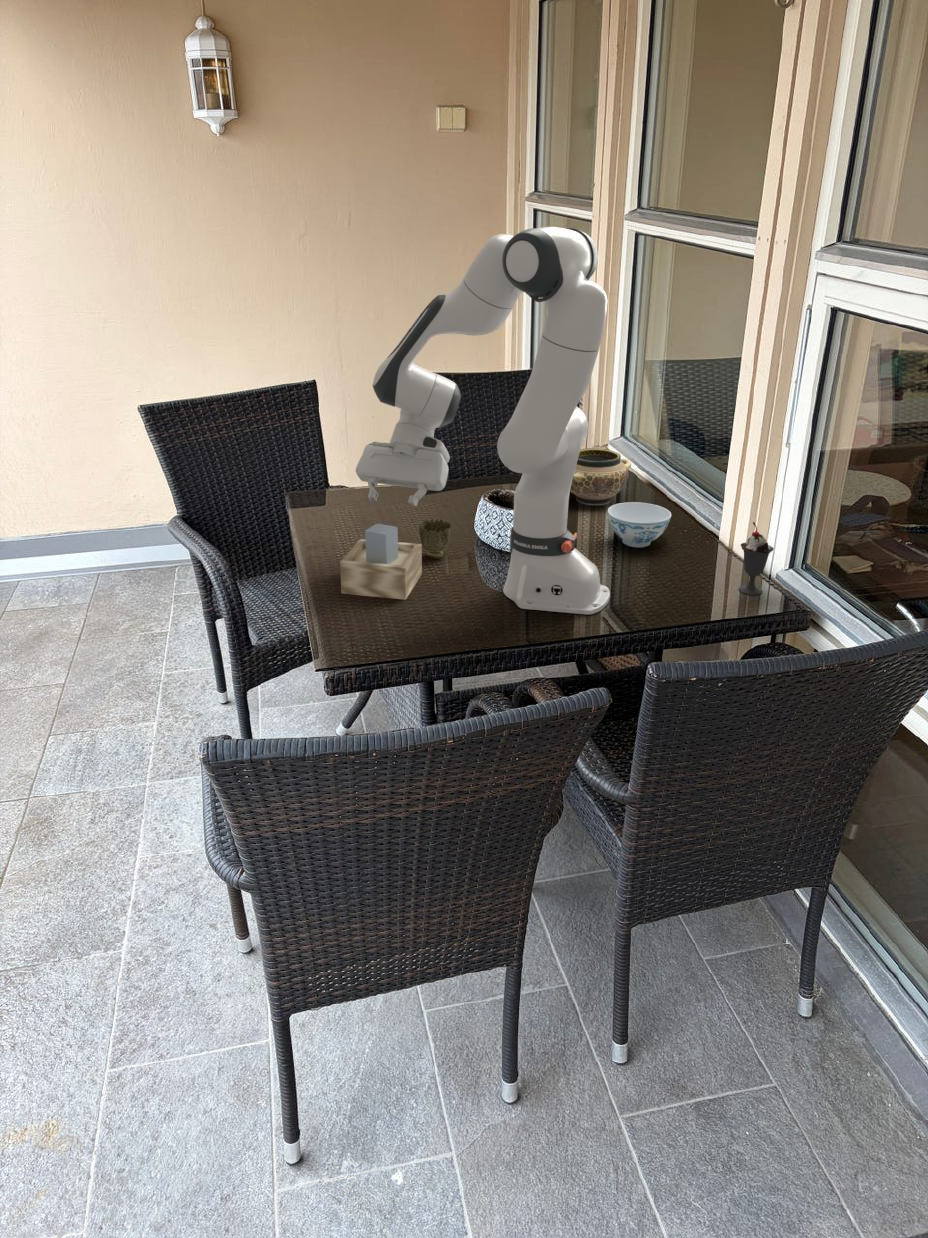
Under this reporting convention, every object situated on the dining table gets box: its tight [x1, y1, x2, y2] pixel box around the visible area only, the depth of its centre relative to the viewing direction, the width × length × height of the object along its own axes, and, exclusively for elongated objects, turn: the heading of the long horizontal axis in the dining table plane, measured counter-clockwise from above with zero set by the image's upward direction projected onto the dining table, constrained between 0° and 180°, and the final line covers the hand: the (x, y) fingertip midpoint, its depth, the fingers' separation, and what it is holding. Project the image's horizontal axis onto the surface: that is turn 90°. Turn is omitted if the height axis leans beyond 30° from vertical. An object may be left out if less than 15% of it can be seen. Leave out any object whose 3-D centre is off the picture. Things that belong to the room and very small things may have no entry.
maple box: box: [339, 538, 423, 601], centre depth 200 cm, size 14×14×8 cm
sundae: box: [738, 521, 775, 596], centre depth 197 cm, size 7×7×15 cm
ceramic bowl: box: [570, 447, 632, 506], centre depth 251 cm, size 24×18×15 cm
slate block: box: [364, 523, 399, 564], centre depth 198 cm, size 5×5×7 cm
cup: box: [418, 518, 452, 560], centre depth 214 cm, size 8×7×8 cm
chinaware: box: [607, 501, 672, 548], centre depth 224 cm, size 15×15×8 cm
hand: (391, 502), depth 198 cm, fingers open, 8 cm apart
